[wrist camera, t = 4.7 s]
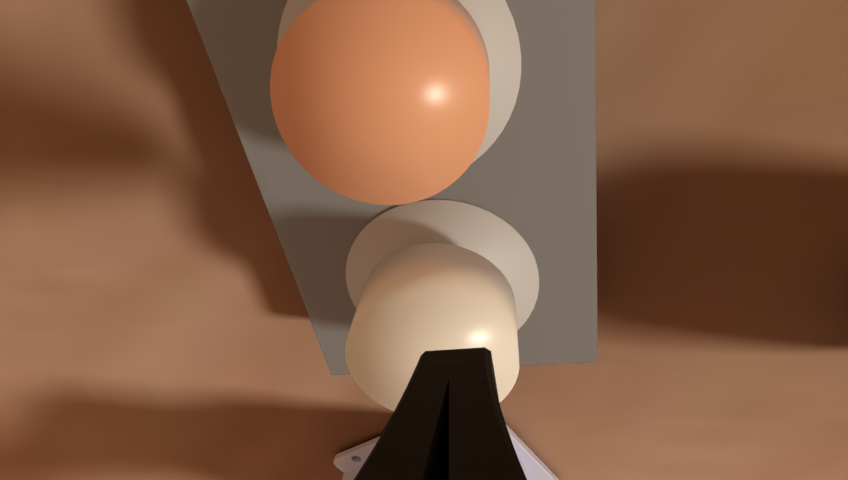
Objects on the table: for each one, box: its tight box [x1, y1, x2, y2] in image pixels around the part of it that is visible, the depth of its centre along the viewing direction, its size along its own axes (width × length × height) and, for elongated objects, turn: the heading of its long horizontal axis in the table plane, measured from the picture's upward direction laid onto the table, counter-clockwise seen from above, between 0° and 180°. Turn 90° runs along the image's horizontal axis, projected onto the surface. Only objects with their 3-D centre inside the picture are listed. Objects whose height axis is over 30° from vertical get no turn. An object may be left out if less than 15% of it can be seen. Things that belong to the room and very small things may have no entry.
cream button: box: [345, 243, 519, 411], centre depth 15 cm, size 5×5×2 cm
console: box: [186, 0, 598, 375], centre depth 15 cm, size 22×10×3 cm, turn 10°
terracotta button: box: [270, 0, 490, 205], centre depth 12 cm, size 5×5×2 cm
